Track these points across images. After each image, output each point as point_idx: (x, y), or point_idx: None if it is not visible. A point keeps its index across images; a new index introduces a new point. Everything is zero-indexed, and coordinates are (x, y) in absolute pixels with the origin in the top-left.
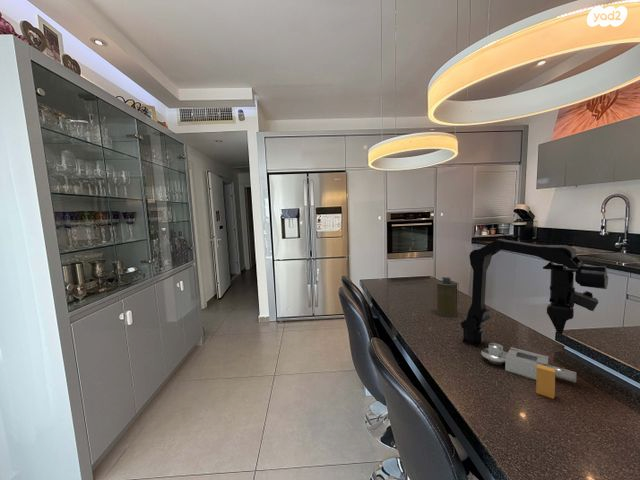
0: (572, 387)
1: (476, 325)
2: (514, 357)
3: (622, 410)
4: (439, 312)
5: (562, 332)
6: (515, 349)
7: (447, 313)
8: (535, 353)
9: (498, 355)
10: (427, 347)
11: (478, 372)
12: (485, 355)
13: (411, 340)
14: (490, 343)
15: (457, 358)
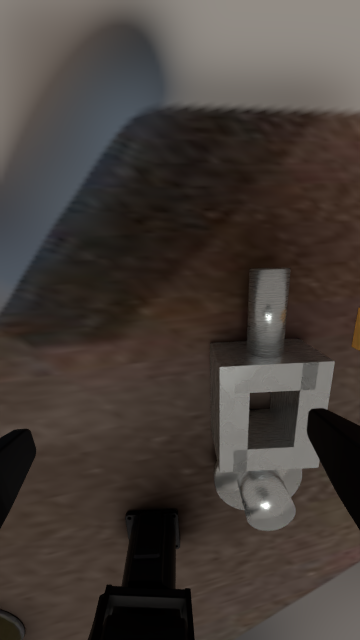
0: None
1: (188, 625)
2: (308, 446)
3: (343, 144)
4: None
5: (343, 419)
6: (231, 458)
7: (8, 638)
8: (221, 404)
9: (279, 474)
10: (279, 578)
11: None
12: (291, 494)
13: (263, 612)
14: (262, 528)
15: (295, 519)
